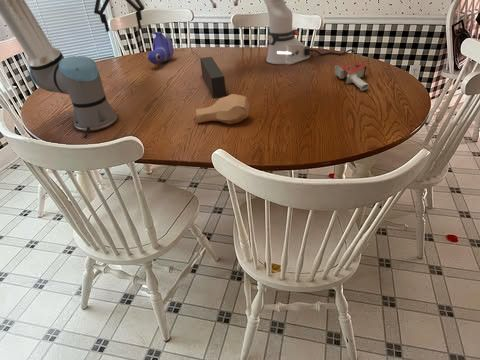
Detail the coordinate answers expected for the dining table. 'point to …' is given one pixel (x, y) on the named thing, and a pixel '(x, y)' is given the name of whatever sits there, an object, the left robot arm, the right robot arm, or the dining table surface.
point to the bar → (213, 77)
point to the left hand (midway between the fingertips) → (124, 29)
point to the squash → (225, 110)
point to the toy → (161, 49)
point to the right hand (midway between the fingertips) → (225, 6)
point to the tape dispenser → (353, 74)
